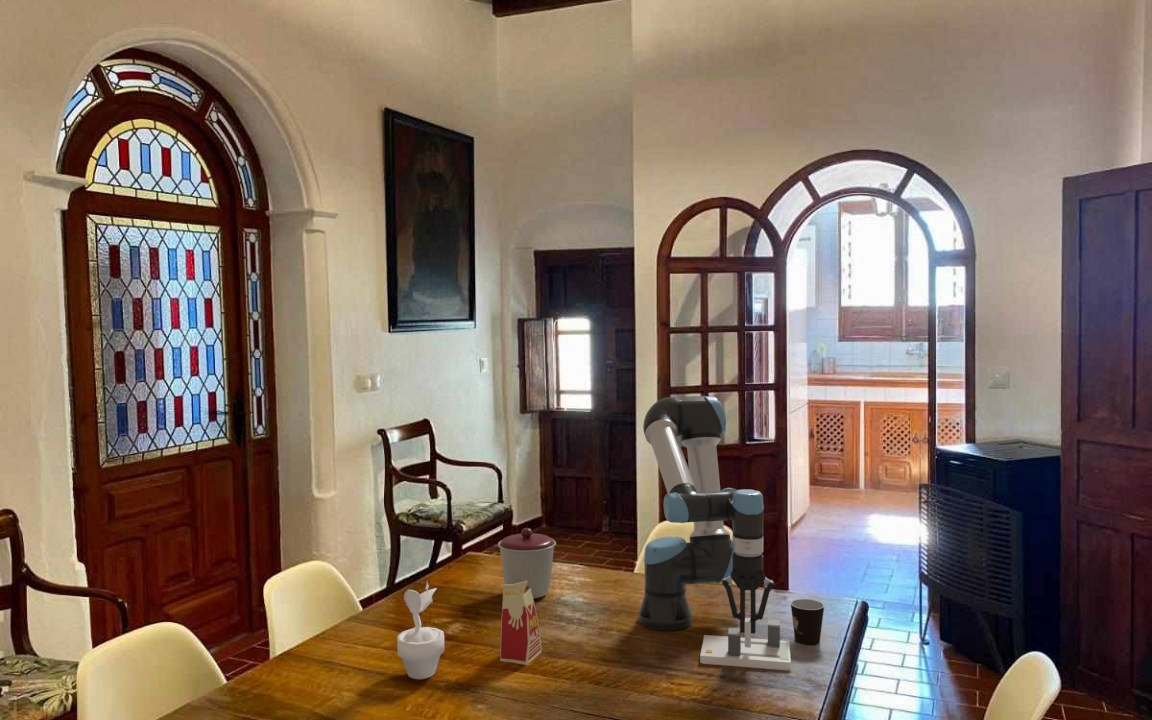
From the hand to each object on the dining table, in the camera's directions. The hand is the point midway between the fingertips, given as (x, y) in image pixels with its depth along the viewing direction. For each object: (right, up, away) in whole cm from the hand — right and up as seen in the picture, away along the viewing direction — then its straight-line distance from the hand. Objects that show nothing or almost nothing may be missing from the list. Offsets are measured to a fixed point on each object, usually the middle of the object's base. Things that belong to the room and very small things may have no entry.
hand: (747, 645), depth 215 cm
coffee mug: (+19, -4, +15) cm, 24 cm away
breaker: (+8, -1, +6) cm, 10 cm away
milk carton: (-58, -5, +5) cm, 58 cm away
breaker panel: (0, -4, +4) cm, 6 cm away
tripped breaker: (-3, -2, +1) cm, 4 cm away
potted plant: (-81, -6, -5) cm, 81 cm away
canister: (-58, -2, +54) cm, 79 cm away
